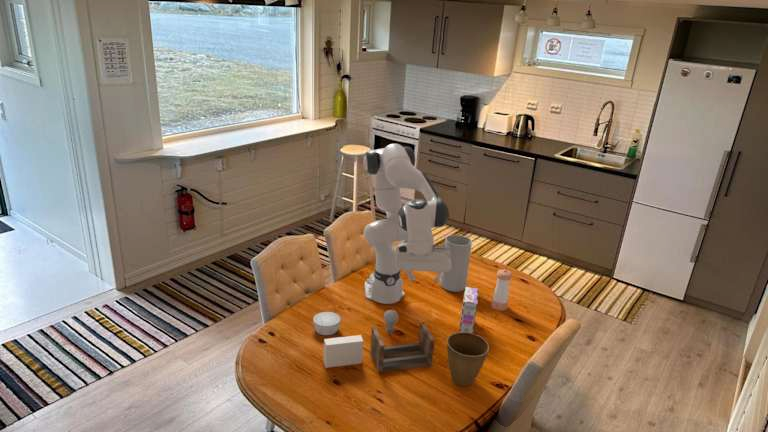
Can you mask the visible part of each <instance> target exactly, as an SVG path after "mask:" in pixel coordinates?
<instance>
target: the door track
mask: <svg viewBox="0 0 768 432" xmlns="http://www.w3.org/2000/svg"><path fill="white" fill-rule="evenodd" d="M418 330H419V331H418V338H417V343H409V344H408V343H407V344H400V345H392V346H385V344H384V341H383V339H382V337H381V335H380V334H379V331H378V329H377V327H376V326H375V327H371V337H370V351H369V354H370V356H371V359H372V361H373V364H374V366H375V368H376V370H377V373H378V374H383V373H389V372H390V373H391V372H397V371H398V372H399V371H407V370H412V369H421V368H428V367H433V366H432V365H433V357H434V350H435V349H434V348H435V341H436V340H435V337H434V336H433V335H432V333H431V332H430V330H429V329H428V327H427V325H426V323H425V321H423V322H421V321H420V322H419V329H418Z"/></svg>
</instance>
